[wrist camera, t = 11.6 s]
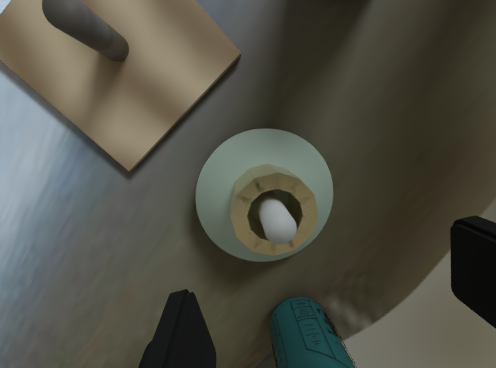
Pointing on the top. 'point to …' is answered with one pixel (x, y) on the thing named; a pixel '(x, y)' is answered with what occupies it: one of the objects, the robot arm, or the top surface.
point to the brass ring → (298, 207)
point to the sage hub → (267, 203)
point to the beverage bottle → (306, 336)
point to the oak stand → (117, 64)
